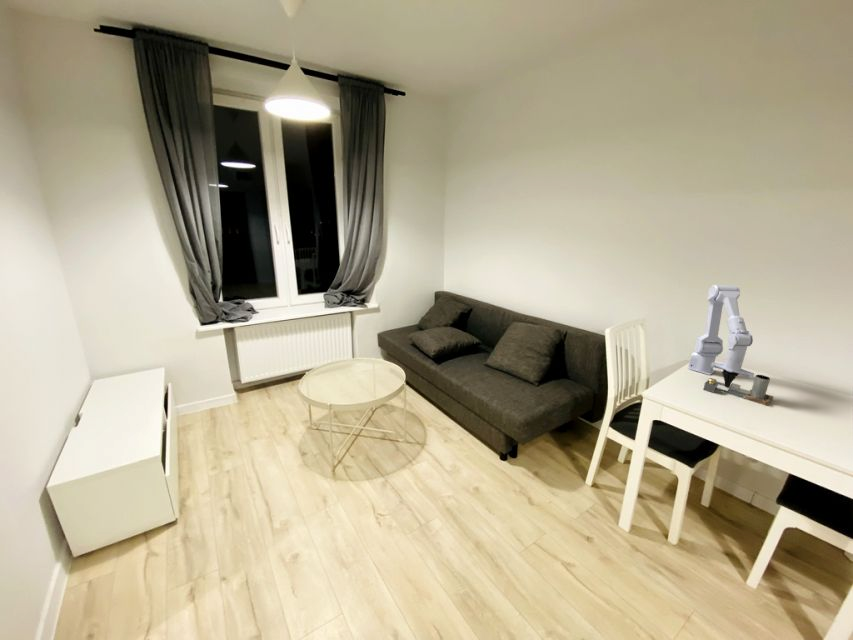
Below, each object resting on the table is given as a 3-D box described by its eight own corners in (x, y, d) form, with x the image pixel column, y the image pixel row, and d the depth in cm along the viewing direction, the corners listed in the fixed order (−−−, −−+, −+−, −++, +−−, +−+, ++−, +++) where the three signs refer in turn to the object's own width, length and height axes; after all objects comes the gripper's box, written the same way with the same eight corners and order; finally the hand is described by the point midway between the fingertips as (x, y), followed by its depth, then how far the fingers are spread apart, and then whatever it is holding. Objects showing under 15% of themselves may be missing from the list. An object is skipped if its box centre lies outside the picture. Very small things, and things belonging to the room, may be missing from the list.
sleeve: (704, 386, 162) (705, 384, 162) (710, 381, 167) (711, 379, 167) (743, 398, 152) (743, 396, 152) (748, 392, 156) (748, 391, 156)
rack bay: (744, 398, 151) (745, 395, 151) (749, 392, 156) (750, 389, 156) (767, 405, 146) (768, 402, 145) (771, 399, 151) (773, 396, 150)
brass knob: (705, 388, 159) (707, 379, 157) (707, 386, 160) (709, 377, 159) (712, 390, 157) (715, 381, 155) (715, 389, 158) (717, 379, 157)
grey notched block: (728, 391, 157) (729, 385, 156) (730, 388, 160) (732, 382, 159) (748, 397, 152) (750, 391, 151) (750, 394, 155) (752, 388, 154)
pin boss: (703, 389, 159) (705, 382, 158) (706, 386, 162) (708, 379, 161) (713, 393, 156) (715, 386, 155) (717, 389, 159) (718, 383, 158)
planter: (762, 398, 152) (769, 376, 149) (763, 402, 148) (771, 380, 145) (748, 394, 154) (755, 373, 151) (749, 399, 151) (756, 377, 148)
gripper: (711, 355, 158) (704, 383, 162) (753, 366, 147) (745, 395, 151) (716, 352, 162) (709, 378, 166) (758, 362, 151) (749, 390, 155)
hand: (727, 386), depth 159 cm, fingers closed
